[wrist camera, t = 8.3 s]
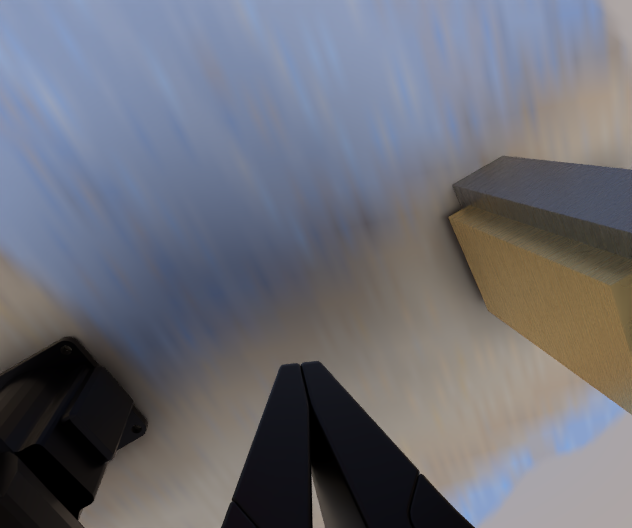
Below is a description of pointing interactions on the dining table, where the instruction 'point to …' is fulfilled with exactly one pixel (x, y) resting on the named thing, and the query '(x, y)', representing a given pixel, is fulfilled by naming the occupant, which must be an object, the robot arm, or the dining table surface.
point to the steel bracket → (557, 199)
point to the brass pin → (555, 295)
